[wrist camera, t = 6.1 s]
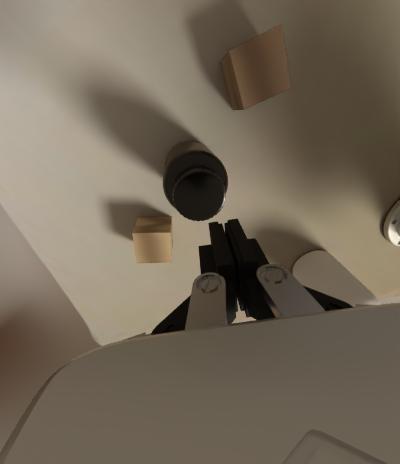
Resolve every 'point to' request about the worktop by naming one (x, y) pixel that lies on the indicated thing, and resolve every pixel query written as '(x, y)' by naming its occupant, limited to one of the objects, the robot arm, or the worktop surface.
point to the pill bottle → (331, 279)
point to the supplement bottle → (195, 181)
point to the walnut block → (256, 69)
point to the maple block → (153, 239)
